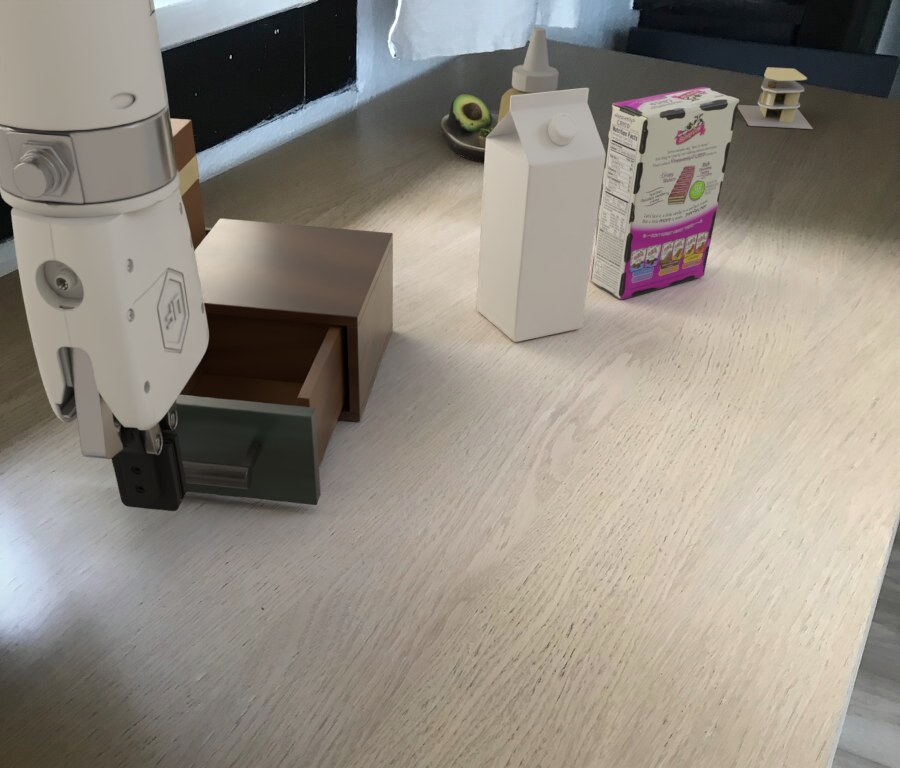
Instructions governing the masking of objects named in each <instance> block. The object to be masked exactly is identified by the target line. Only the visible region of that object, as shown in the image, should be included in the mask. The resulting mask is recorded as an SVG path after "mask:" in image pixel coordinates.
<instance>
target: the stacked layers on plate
mask: <svg viewBox="0 0 900 768" xmlns="http://www.w3.org/2000/svg"><path fill="white" fill-rule="evenodd" d="M763 76H764V78H763V81H762V83H761V87H760V88H761V90H762V92H760V95H759V96H758V97H759V98H758V100H757V105H747V104H738V108H737V110H738V111H739V112H740V114H741V116H742V117H743V119H744V120H745V122H746V124H747V125H748V126H749V127H765V128H766V127H767V128H786V129H787V128H788V129H803V130H804V129H805V130H814V128H813V126H811V124H810V123H809V122H808V120H807V119H806V117H805V116H804V115H803V114H802V112H801V111H800V110H799V109H798V108H800V107H801V103H800V102H799V100H800V96H801V93H803V92H805V87H804V86H803V85H801V84H800V83H799V82H797V81H806V80H808V77H807V76H805V75H804V74H803V73H801V72H800V71H798V70H797V69H796V68H790V67H789V68H788V67H787V68H786V67H770V66H768V67H766V69H765V72H764V74H763Z"/></svg>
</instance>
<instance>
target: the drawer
mask: <svg viewBox="0 0 900 768" xmlns="http://www.w3.org/2000/svg"><path fill="white" fill-rule="evenodd" d="M206 317H207V323H208V330H209V341H208V346H207V349H206V352H205V354H204V356H203V358H202V359H201V361H200V363H199V364H198V366H197V368H196V369H195V371H194V372H193V374H192V376H191V377H190V379H189V380H188V382H187V383H186V385H185V386H184V388H183V390H182V391H181V393H180V394H179V396H178V397H177V399H176V403H177V412H178V423H177V427H176V429H175V430H174V431H170V430H168V431H169V433H176V434H178V438H179V444H180V449H181V455H182V461H183V467H184V472H185V478H186V484H187V493H192V494H202V495H203V494H204V495H214V496H223V497H233V498H243V499H252V500H261V501H271V502H281V503H282V502H283V503H291V504H300V505H310V506H318V503H319V501H320V498H321V480H320V479H321V478H320V466H321V464H322V461H323V459H324V456H325V454H326V450H327V448H328V446H329V443H330V440H331V438H332V436H333V433H334V430H335V428H336V425H337V422H338V417H339V415H340V412H341V410H342V407H343V404H344V402H345V399H346V397H347V394H348V392H349V390H348V359H347V330H346V326H341V325H330V324H319V323H308V322H297V321H286V320H275V319H264V318H253V317H242V316H231V315H220V314H209V313H206Z"/></svg>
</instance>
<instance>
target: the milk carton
mask: <svg viewBox="0 0 900 768" xmlns="http://www.w3.org/2000/svg"><path fill="white" fill-rule="evenodd" d="M589 92H590V88H589V87H580V88H570V89H561V90H555V91H550V92H540V93H531V94H521V95H512V96H511V97H510V110H509V112H508V113H507V114H506V115H505V116H504V118H503V119H502V120H501V121H500V122H499V123H498V124H497V126H496V127H495V128H494V129H493V130H492V131H491V132H490V134H489V135H488V136H487V137H486V146H485V162H483V164H484V166H483V181H482V182H483V183H482V194H481V195H482V198H481V211H480V212H481V214H480V229H479V246H478V262H477V263H478V264H477V276H476V277H477V278H476V279H477V281H476V282H477V283H476V295H475V309H476V311H478V313H480V314H481V315H482V316H483V317H484V318H486V320H488V321H489V322H490V323H491V324H493V325H494V326H495V327H496V328H497V329H498V330H499V331H501V332H502V333H503V334H504V335H505V336H506V337H507V338H509V339H510V340H511V341H512V342H513V343H516V342H517V343H518V342H523V341H527V340H532V339H536V338H542V337H546V336H550V335H556V334H561V333H566V332H570V331H575V330H579V329H581V328H582V327H583V321H584V315H585V305H586V299H587V292H588V286H589V285H588V284H589V277H590V271H591V263H592V257H593V256H592V254H593V249H594V243H595V236H596V229H597V228H596V227H597V221H598V215H599V208H600V200H601V193H602V186H603V177H604V169H605V161H606V151H605V147H604V144H603V142H602V139H601V136H600V134H599V131H598V128H597V126H596V123H595V120H594V117H593V114H592V112H591V108H590V106H589V103H588V100H589Z"/></svg>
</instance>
